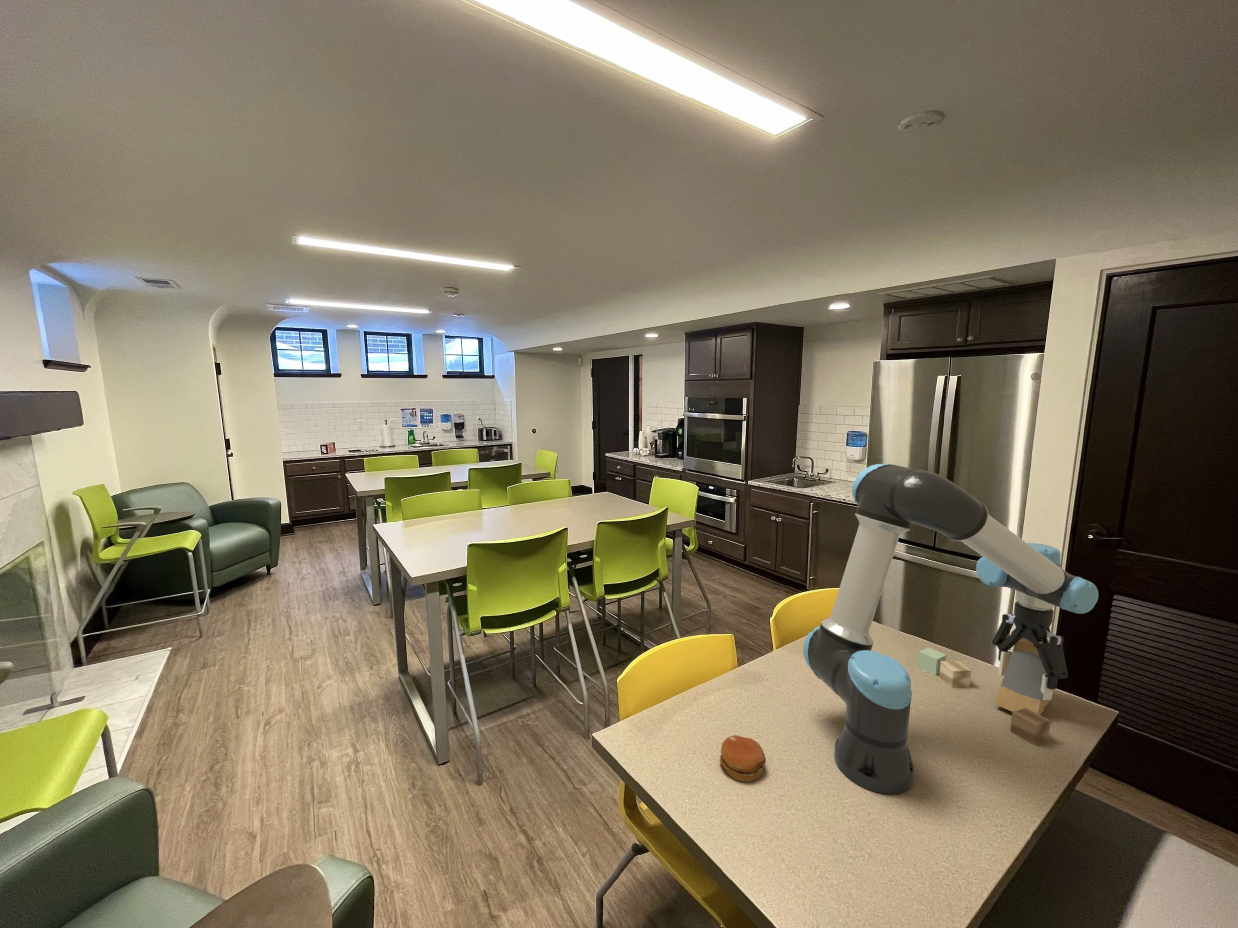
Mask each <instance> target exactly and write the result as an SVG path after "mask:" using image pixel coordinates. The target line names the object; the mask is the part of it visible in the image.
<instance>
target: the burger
mask: <svg viewBox="0 0 1238 928" xmlns="http://www.w3.org/2000/svg"><path fill="white" fill-rule="evenodd" d="M719 762H720V765H721V766H722V768H723V769H724V771H725V772H726V773H727V774H728V775H729V776H730V777H732V779H734V780H736V781H740V782H745V783H746V782H752V781H756V780H759V778H761V776H762V775H763V771H764V766H765V764H766V762H767V760H766V754H765V753H764V750H763V748H762V747H761V745H760V743H759V742H758V741H756V740H755V739H753V738H749V737H744V736H740V735H730V736H728V737H726V738H725V739H724V740H723V742H722V743H721V747H720V756H719Z"/></svg>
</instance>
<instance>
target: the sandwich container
mask: <svg viewBox="0 0 1238 928" xmlns="http://www.w3.org/2000/svg"><path fill="white" fill-rule="evenodd" d="M1039 643H1040V644H1042V643H1043V642H1039ZM1049 648H1050V647H1049ZM1011 652H1012V654H1011V657H1010V660H1009V663H1008V666H1007V669H1006V672H1005V675H1004V676H1003V678H1002V681H1001V684H1000V688H999V690H998V693H997V697H996V699H995V702H994V705H995V706H998V707H1000V708H1002V709H1005V710H1007V711H1010V712H1011V713H1012V712H1014V711H1017V710H1021V709H1024V708H1028V709H1030V710H1032V711H1034V712H1035V713H1037V714H1039V715H1042V713H1043V712H1044V710H1045V709H1046V707H1048V705H1049V703H1050V701H1051V700H1043V693H1042V692H1041V684H1042V676H1043V674H1046V671H1045V669H1044V666H1043V664H1042V661H1041V658H1040V656H1039V653H1038V651H1037V648H1036V647H1034V645H1033V643H1032V642H1030V641H1029V640H1027V639H1025V638H1021V639H1020V640H1019V641H1018V642H1017V643H1016V644H1015V645H1014V646H1013V647H1012V651H1011Z"/></svg>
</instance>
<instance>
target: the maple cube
mask: <svg viewBox="0 0 1238 928" xmlns="http://www.w3.org/2000/svg"><path fill="white" fill-rule="evenodd" d="M971 676H972V670H971V669H970V668H969V667H967V666H966V665H965V664H963V663H962V662H960V661H959V660H946V661H941V665H940V674H939V679H940V680H942V681H943V682H944V683H945V684H946V685H948V686H949V687H950V688H953V689H954V687H955V689H957V688H970V686H971V678H972V677H971ZM956 687H957V688H956Z"/></svg>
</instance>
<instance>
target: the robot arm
mask: <svg viewBox="0 0 1238 928" xmlns="http://www.w3.org/2000/svg"><path fill="white" fill-rule="evenodd" d="M851 491H852V492H851V493H852V497H853V499H854V502H855V504H857V507H856V509H855V513H854V515H855V517H856V518H857V520H858V528H857V529H856V530H857V532H856V534H855V536H854V537H855V538H854V540H853V544H852V547H851V550H850V553H849V556H848V560H847V562H846V567H845V570H844V573H843V575H842V579H841V582H840V585H839V587H838V592H837V595H836V597H835V602H834V603H833V607H832V611H831V614H830V616H829V617H828V618H825V619H823V620H822V621H821V623H820V624H819V625H818V626H816V627H815V628H813V631H809V633H808V634H807V636H806V637H805V640H804V642H803V651H802V652H803V653H802V654H803V658H804V660H805V663H806V664H807V666H808V668H809V669H811V671H812V673H813V674H814V675H815V676H816V677H817V678H818V679H819V680H821V682H823V683H824V684H825V685H827V687H828V688H829V689H830V690H831V691H833V692H834V693H835V695H837V696H838V697H839V698H840V699H841V700H842V701H843V702H844V703H845V722H844V725H843V728H842V730H841V733H840V735H839V737H838V738H837V739H836V741H835V745H834V750H833V751H834V753H833V757H834V762H835V764H836V766H837V767H838V769H839V770H840V771H841V772H842V774H843V775H844V776H846V777H847V778H848V779H850V780H851V781H852V782H853V783H855V784H856V785H859V786H861V787H863V788H865V789H867V790H870V791H873V792H876V793H879V794H884V795H885V794H886V795H899V794H902V793H906V792H907V791H910V789H911V788H912V786H913V785H914V782H915V781H914V780H915V767H914V763H913V759H912V756H911V753H910V752H911V751H910V749H909V745H908V733H909V723H910V721H909V720H910V713H911V704H912V702H911V701H912V695H913V694H912V692H913V691H912V680H911V676H910V674H909V672H908V671H907V669H906V668H905V667H904V666H903V665H902V664H901V663H900V662H899V661H898V660H896V659H894V658H893V657H891V656H889V655H886V654H885V655H883V654H882V653H881V652H878V651H874V650H872V648H873V646H874V639H873V637H872V636H871V634H870V629H871V627H872V624H873V620H874V617H875V614H876V610H877V608H878V605H879V604H878V603H879V602H880V598H881V595H882V592H883V589H884V586H885V582H886V580H887V576H888V573H889V570H890V568H891V567H890V566H891V564H892V561H893V557H894V555H895V552H896V549H897V545H898V542H899V540H900V536H901V535H902V534H905V533H906V532H908V531H910V530H911V528H912V525H913V524H914V525H917V526H921V527H923V528H926V529H930V530H931V531H932V530H933V531H935V532H937V533H939V534H942V536H944V537H946V538H948V539H949V540H950V541H955V542H961V543H963V544H964V545H965V546H966V547H969V548H970V549H972V550H973V551H975V552H976V553H977V554H978V555H980V556H982V557H980V558H979V559H978V560H977V562H976V566H975V567H976V568H975V571H976V574H977V577H978V579H979V581H981V582H982V583H983V584H985V585H986V586H989V587H996V588H1000V587H1001V588H1002V587H1006V588H1008V589H1012V590H1015V597H1014V600H1015V603H1014V608H1013V609H1014V610H1013V613H1003V614H1001V615H1002V617H1001V623H1000V625H999V627H998V628H997V630H996V632H995V635H994V637H993V639H992V642H991V643H992V645H993V646H996V647H997V649H998V657H997V659H998V662H999V665H998V667H999V668H998V675H999V676H1001V677H1002V676H1003V677H1004V675H1005V672H1006V669H1007V666H1008V663H1009V660H1010V657H1011V654H1012V651H1013V648H1014V645H1015V644H1016V643H1017V642H1018V641H1019V640H1020V639H1021V638H1025V639H1027V640H1029V641H1030V642H1032V643H1033V645H1034V647H1036V648H1037V651H1038V653H1039V656H1040V658H1041V661H1042V664H1043V666H1044V669H1045V671H1046V674H1043V676H1042V684H1041V692H1042V693H1043V700H1050V701H1051V700H1053V694H1054V690H1056V689H1057V688H1058V687H1057V685H1058V680H1059V679H1060V680H1061V679H1067V678H1068V677H1069V674H1068V670H1067V669H1068V667H1067V662H1066V658H1065V651H1064V641H1065V638H1064V637H1063V636H1062V635H1056V634H1054V633H1052V632H1051V625H1052V623H1053V619H1054V608H1055V606H1056V607H1058V608H1060V609H1062V610H1063V611H1065V610H1066V611H1068V612H1071V613H1075V614H1080V615H1081V614H1087V613H1089V612H1090V611H1091V610H1093V609H1094V607H1095V605H1096V604H1097V603H1098V600H1099V590H1098V588H1097V586H1096V585H1095V584H1094V582H1091V581H1090V580H1087V579H1084V578H1083V577H1081V576H1075V575H1073V574H1070V573H1068V572H1067V571H1066V570H1064V569H1063V568H1061V565H1062V564H1061V551H1060V550H1059V549H1058V548H1056V547H1054V546H1052V545H1047V544H1044V543H1043V544H1042V543H1034V542H1026V541H1025V540H1024V539H1022V538H1021V537H1019V536H1018V535H1017V534H1015V533H1014V532H1013V531H1011V530H1010V529H1009V528H1007V527H1006V526H1005V525H1003V524H1002V523H1001V522H999V521H998V520H997V519H995V518H994V517H992V516H991V515H990V514H989V511H988V508H987V506H986V505H985V504H984V503H983V502H981V501H980V500H978V499H977V498H976V497H974V496H973V495H971V494H970V493H969V492H967V491H966V490H964V489H963V488H962V487H960V486H959V485H957V484H956V483H955V482H953V481H952V480H950V479H947V478H946V477H944V476H942V475H940V474H938V473H935V472H933V471H929V470H924V469H917V468H916V469H915V468H910V467H906V466H901V465H897V464H892V463H888V464H887V463H886V464H885V463H877V464H872V465H869V466H868V467H866V468H864V469H862V470H861V471H860V473H859V474H858V475H857V476H856V477H855V479H854V481H853V483H852V489H851ZM1014 626H1015V627H1014ZM1013 627H1014V629H1013V630H1012V628H1013ZM1011 630H1012V631H1011ZM1039 642H1043V643H1042V644H1040V643H1039ZM1049 647H1050V648H1049ZM1011 650H1012V651H1011Z"/></svg>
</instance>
